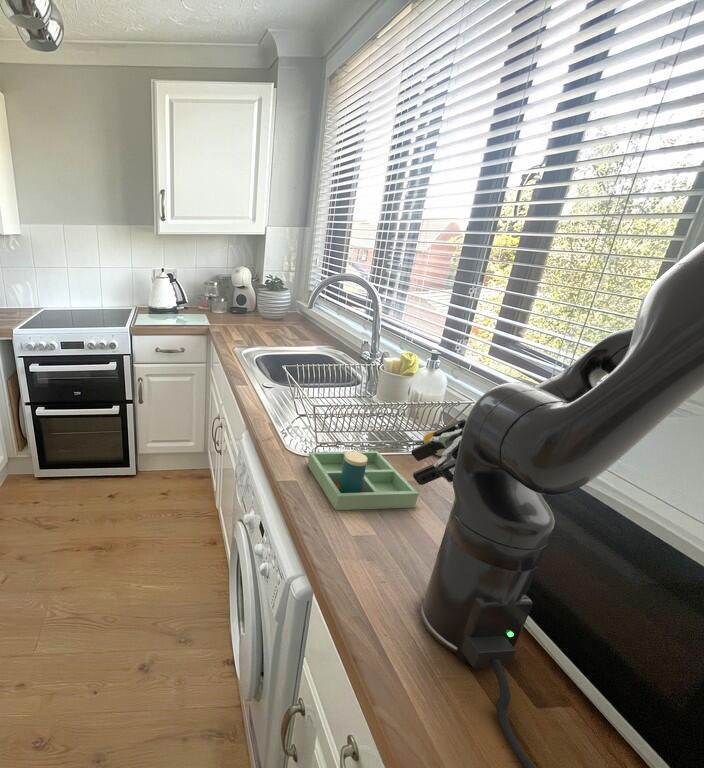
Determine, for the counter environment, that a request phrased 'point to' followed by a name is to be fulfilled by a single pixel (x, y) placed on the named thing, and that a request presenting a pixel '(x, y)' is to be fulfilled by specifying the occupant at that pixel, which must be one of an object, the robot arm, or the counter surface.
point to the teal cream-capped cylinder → (352, 472)
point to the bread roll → (427, 439)
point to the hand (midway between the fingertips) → (414, 467)
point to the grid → (378, 484)
